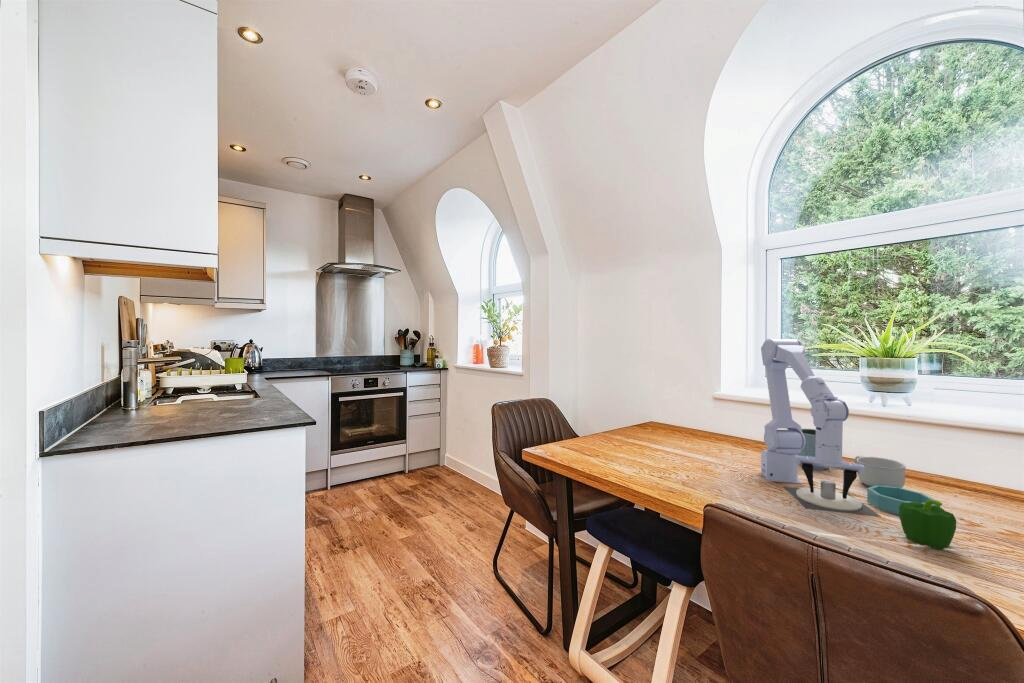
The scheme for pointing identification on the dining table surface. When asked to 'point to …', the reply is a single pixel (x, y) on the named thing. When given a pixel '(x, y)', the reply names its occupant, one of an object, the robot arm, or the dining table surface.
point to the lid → (829, 498)
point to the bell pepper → (927, 523)
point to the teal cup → (810, 445)
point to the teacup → (881, 471)
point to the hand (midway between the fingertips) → (827, 494)
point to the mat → (863, 511)
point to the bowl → (893, 497)
